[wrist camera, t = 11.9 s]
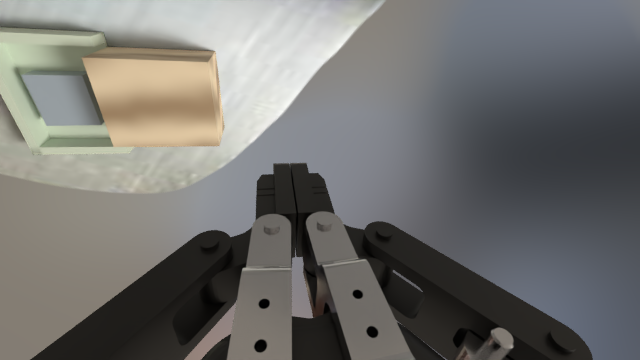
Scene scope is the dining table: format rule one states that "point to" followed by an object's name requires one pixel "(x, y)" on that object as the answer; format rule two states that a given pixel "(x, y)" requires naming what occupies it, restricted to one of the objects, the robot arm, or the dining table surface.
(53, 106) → the tile
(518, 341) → the robot arm
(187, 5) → the dining table surface
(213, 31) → the dining table surface
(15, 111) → the tray
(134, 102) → the cardboard box
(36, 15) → the dining table surface
